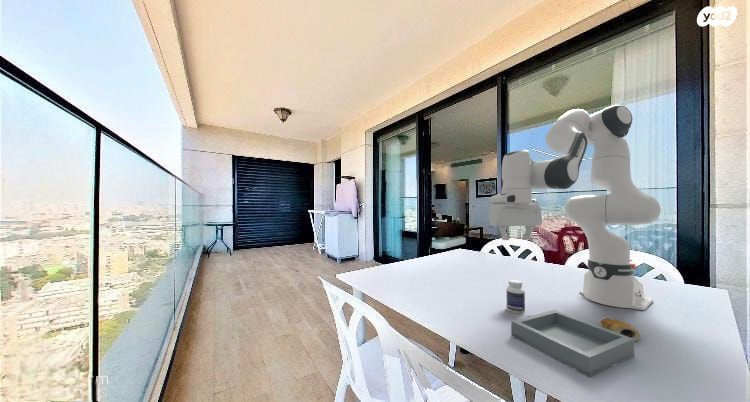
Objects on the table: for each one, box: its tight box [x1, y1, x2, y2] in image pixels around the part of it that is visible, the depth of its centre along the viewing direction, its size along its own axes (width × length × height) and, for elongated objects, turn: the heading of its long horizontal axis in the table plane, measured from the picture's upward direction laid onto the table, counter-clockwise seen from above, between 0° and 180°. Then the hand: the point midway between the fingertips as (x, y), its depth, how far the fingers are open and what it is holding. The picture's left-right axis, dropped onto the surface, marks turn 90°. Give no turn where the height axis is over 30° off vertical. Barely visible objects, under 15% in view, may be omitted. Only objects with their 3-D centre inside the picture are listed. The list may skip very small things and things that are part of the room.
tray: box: [510, 309, 635, 378], centre depth 64 cm, size 18×18×4 cm
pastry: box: [600, 317, 641, 342], centre depth 70 cm, size 9×7×4 cm
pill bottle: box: [505, 279, 526, 314], centre depth 85 cm, size 5×5×10 cm
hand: (516, 239), depth 85 cm, fingers open, 8 cm apart
